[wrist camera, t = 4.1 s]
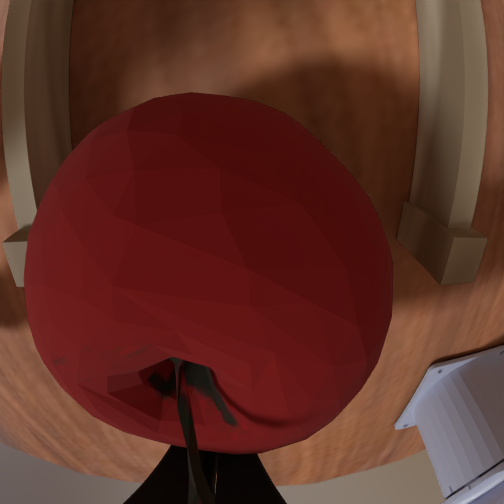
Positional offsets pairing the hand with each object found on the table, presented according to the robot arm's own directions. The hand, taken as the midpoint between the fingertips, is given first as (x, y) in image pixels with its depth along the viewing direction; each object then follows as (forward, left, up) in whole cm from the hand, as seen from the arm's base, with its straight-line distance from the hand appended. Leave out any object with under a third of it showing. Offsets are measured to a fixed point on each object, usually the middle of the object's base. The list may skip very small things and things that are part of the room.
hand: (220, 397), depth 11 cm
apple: (0, -6, -4) cm, 7 cm away
